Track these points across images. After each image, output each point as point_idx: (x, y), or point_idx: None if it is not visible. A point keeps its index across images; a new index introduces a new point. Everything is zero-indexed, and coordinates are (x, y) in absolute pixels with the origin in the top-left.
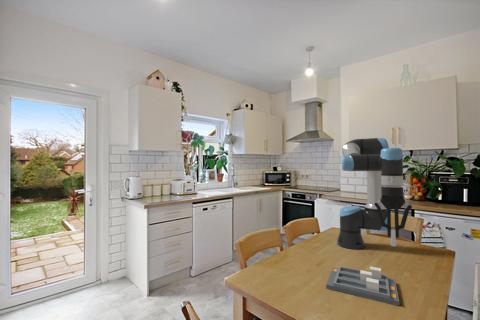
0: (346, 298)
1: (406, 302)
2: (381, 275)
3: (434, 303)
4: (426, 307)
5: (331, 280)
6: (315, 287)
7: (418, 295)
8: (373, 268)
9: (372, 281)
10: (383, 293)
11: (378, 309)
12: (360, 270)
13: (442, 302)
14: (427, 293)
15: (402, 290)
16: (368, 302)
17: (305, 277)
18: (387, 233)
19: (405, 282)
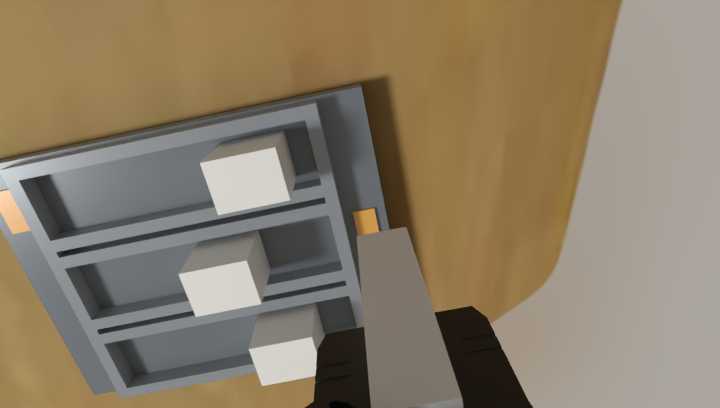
0: (213, 391)
1: (430, 265)
2: (283, 123)
3: (544, 191)
4: (506, 253)
5: (85, 344)
6: (61, 394)
7: (480, 153)
8: (234, 187)
9: (290, 374)
10: None
11: None
12: (180, 279)
13: (581, 154)
14: (525, 92)
15: (405, 148)
16: None
17: None
18: (318, 371)
19: (412, 9)
